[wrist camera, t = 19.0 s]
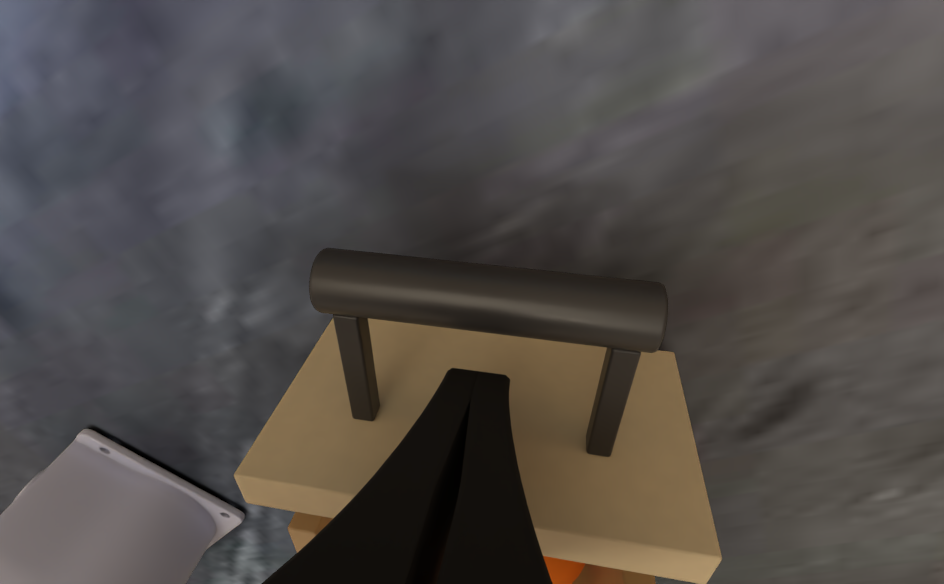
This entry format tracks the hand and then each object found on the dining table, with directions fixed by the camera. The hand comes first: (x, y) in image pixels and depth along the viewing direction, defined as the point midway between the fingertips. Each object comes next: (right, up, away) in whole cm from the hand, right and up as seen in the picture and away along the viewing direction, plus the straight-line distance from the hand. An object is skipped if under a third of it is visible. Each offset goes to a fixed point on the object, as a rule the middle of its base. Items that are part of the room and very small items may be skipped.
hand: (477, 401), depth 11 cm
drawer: (+1, -2, +7) cm, 7 cm away
